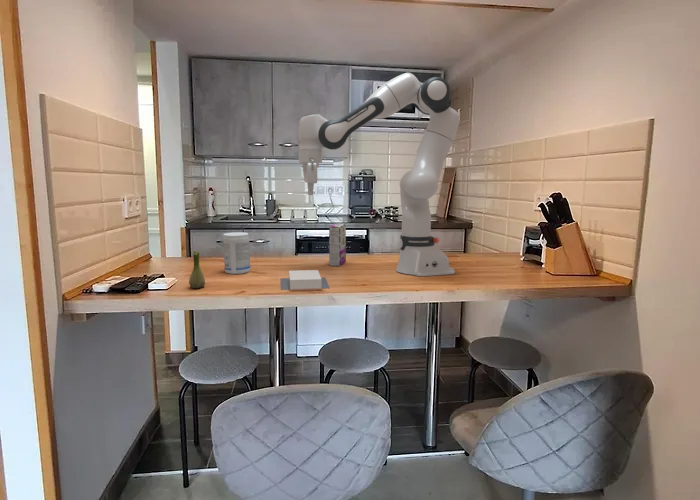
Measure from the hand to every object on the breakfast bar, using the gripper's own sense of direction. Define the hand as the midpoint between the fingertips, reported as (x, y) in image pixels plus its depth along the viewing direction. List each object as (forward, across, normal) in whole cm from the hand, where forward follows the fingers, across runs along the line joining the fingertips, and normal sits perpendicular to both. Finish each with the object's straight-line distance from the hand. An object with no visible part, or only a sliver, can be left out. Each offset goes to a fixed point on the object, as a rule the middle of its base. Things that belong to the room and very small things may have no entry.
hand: (310, 195), depth 175 cm
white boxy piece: (+27, -20, +4) cm, 34 cm away
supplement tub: (+29, -2, +28) cm, 41 cm away
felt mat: (+29, -24, +4) cm, 38 cm away
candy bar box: (+29, +10, -12) cm, 33 cm away
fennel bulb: (+29, -25, +39) cm, 55 cm away
